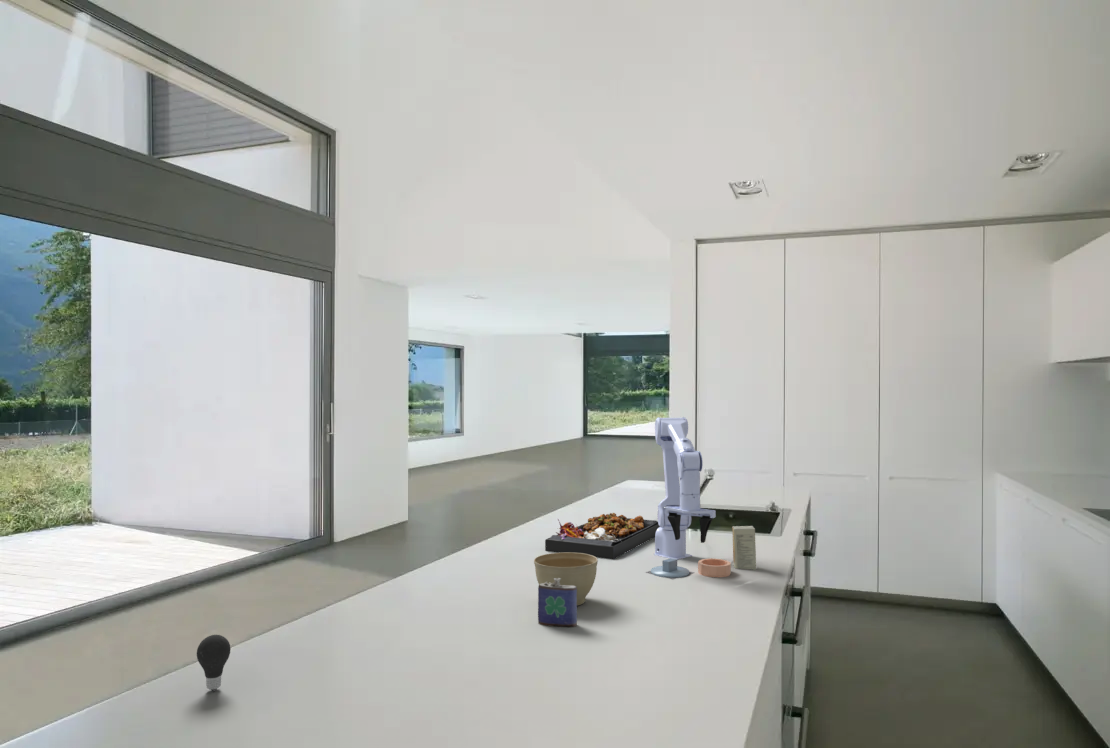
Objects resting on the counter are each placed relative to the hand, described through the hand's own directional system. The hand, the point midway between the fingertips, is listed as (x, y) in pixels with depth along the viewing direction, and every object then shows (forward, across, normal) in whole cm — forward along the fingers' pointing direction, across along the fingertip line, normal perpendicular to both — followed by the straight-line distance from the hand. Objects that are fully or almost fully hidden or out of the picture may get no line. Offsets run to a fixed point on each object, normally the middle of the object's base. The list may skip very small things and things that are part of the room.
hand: (690, 540), depth 211 cm
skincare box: (+10, +12, +14) cm, 21 cm away
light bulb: (+10, -50, -118) cm, 128 cm away
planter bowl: (+10, -19, -40) cm, 46 cm away
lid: (+9, -5, -3) cm, 11 cm away
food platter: (+10, -40, +27) cm, 49 cm away
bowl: (+10, +6, +3) cm, 12 cm away
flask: (+10, -12, -56) cm, 58 cm away
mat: (+10, -5, -3) cm, 11 cm away
